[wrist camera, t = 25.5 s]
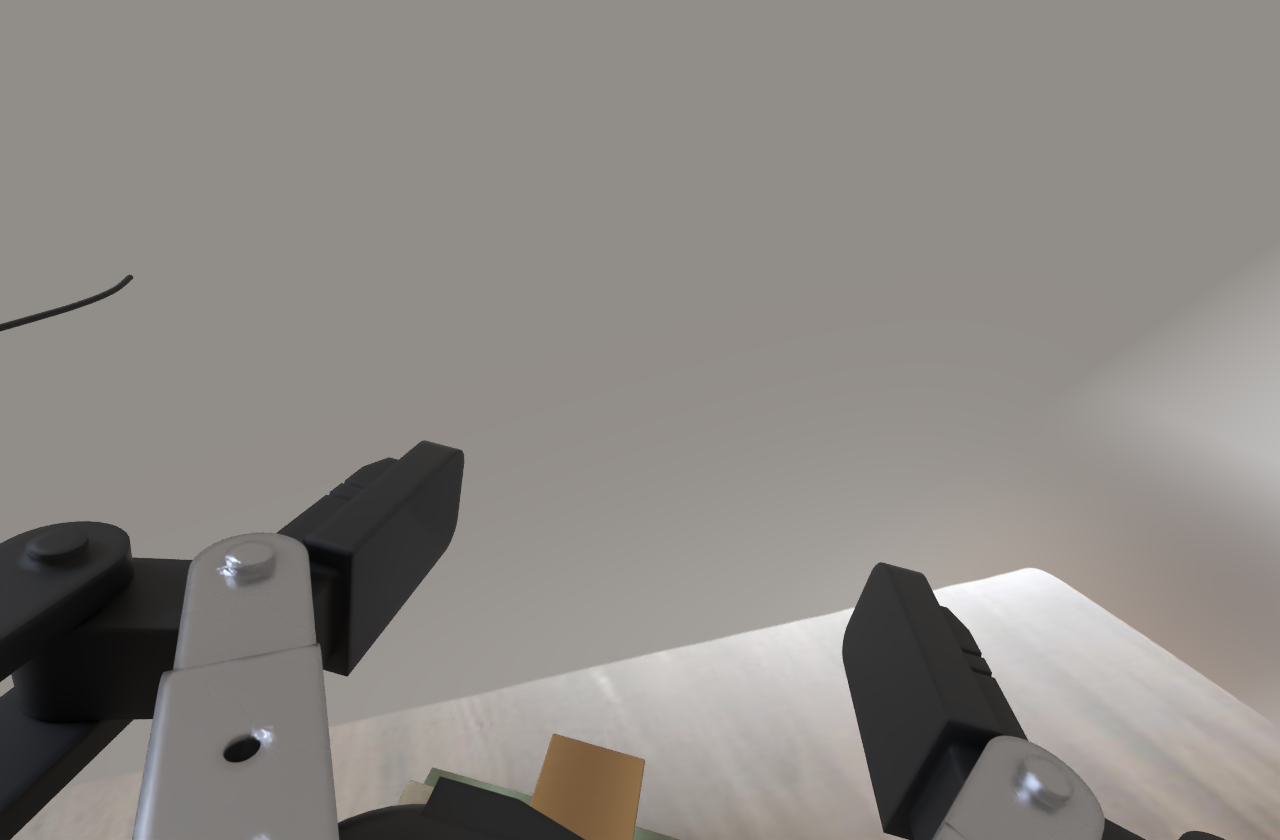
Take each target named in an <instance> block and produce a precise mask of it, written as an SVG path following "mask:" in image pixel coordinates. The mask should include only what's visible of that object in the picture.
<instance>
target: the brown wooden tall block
mask: <svg viewBox="0 0 1280 840" xmlns="http://www.w3.org/2000/svg"><path fill="white" fill-rule="evenodd" d="M644 764H645V760H644V759H641V758H637V757H634V756H630V755H627V754H623V753H620V752H616V751H613V750H609V749H606V748H602V747H599V746H595V745H592V744H588V743H585V742H581V741H578V740H574V739H571V738H567V737H564V736H561V735H557V734H553V735H552V738H551V741H550V744H549V748H548V751H547V754H546V757H545V760H544V763H543V766H542V769H541V772H540V775H539V778H538V781H537V784H536V788H535V791H534V794H533V797H532V800H531V803H530V806H531V807H533V808H534V809H536V810H538V811H539V812H541V813H542V814H544V815H546V816H547V817H549V818H551V819H552V820H554V821H556V822H557V823H559V824H560V825H562V826H564V827H565V828H567V829H569V830H570V831H572V832H574V833H575V834H577V835H578V836H580V837H582V838H583V839H585V840H633V838H634V831H635V824H636V818H637V811H638V804H639V798H640V791H641V784H642V778H643V771H644Z"/></svg>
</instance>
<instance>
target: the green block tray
mask: <svg viewBox="0 0 1280 840" xmlns="http://www.w3.org/2000/svg"><path fill="white" fill-rule="evenodd" d="M440 776H442V777H445V778H448V779H452V780H455V781H459V782H462V783H465V784H469V785H472V786H476V787H479V788H483V789H486V790H489V791H493V792H496V793H500V794H503V795H506V796H510V797H513V798H517V799H520V800H521V801H523V802H524V803H526V804H528V805H529V806H530V803H531V800H532V796H528V795H525V794H522V793H518V792H515V791H511V790H508V789H504V788H501V787H498V786H494V785H491V784H487V783H484V782H480V781H477V780H474V779H470V778H467V777H463V776H460V775H456V774H453V773H450V772H446V771H443V770H439V769H436V768H432V769H431V771H430V773H429V775H428V777H427V779H426V781H425V783H424V784H421V783H418V782H414V781H409V783H408V785H407V787H406V789H405V791H404V792H403V794H402V796H401V798H400V800H399V802H398V804H397V805H406V804H426V803H427V801H428V799H429V797H430V795H431V793H432V791H433V789H434V787H435V785H436V783H437V781H438V779H439V777H440ZM397 805H396V806H397ZM633 840H679V839H676V838H672V837H669V836H665V835H662V834H659V833H655V832H652V831H648V830H645V829H641V828H638V827H635V831H634V838H633Z"/></svg>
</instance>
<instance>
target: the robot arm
mask: <svg viewBox="0 0 1280 840" xmlns="http://www.w3.org/2000/svg"><path fill="white" fill-rule="evenodd" d="M132 279H133V276H132V275H128V276H126V277H125V278H124V279H123V280H122V281H121V282H120V283H119V284H117V285H116V286H115V287H113V288H111V289H109V290H107V291H105V292H103V293H100V294H98V295H96V296H93V297H90V298H87V299H84V300H81V301H79V302H76V303H73V304H70V305H67V306H63V307H60V308H56V309H53V310H49V311H46V312H42V313H38V314H35V315H31V316H28V317H24V318H21V319H17V320H14V321H10V322H7V323H3V324H0V331H3V330H7V329H10V328H13V327H17V326H21V325H24V324H27V323H31V322H34V321H38V320H41V319H45V318H48V317H51V316H55V315H58V314H62V313H65V312H68V311H71V310H74V309H77V308H80V307H82V306H85V305H88V304H91V303H93V302H96V301H99V300H101V299H104V298H106V297H108V296H110V295H112V294H114V293H115V292H117V291H119V290H120V289H122V288H123V287H124V286H125V285H127V284H128V283H129V282H130V280H132ZM463 468H464V454H463V451H462V450H459V449H455V448H451V447H448V446H444V445H440V444H436V443H433V442H429V441H421V442H420V443H419V444H417V445H416V446H415V447H414V448H413V449H411V450H410V451H409V452H408V453H406V454H405V455H404V456H403V457H402V458H401V459H399V460H397V459H393V458H386V459H383V460H381V461H378V462H375V463H372V464H369V465H366V466H364V467H362V468H361V469H359V470H358V471H357V472H355V473H354V474H353V475H351V476H350V477H349V478H348V479H346V480H345V483H344V484H343V483H341V484H340V485H338V487H336V488H334V489H333V490H332V491H331V492H330V494H329V496H328V495H325V496H324V497H323V498H321V499H320V500H319V501H318V502H316V503H315V504H314V505H312V506H311V507H310V508H308V509H307V510H306V511H304V512H303V513H302V514H301V515H299V516H298V517H297V518H295V519H294V520H293V521H291V522H290V523H289V524H288V525H286V526H285V527H284V528H282V529H281V530H280V531H278V532H277V533H276V534H274V533H250V534H243V535H238V536H234V537H230V538H227V539H225V540H222V541H219V542H217V543H214V544H212V545H211V546H209V547H207V548H206V549H204V550H203V551H201V552H200V553H199V554H198V555H197V556H196V557H195V558H194V559H193V560H176V559H153V558H132V555H131V547H130V539H129V536H128V535H127V533H126V532H125V531H124V530H122V529H121V528H119V527H117V526H114V525H110V524H107V523H101V522H89V521H86V522H85V521H84V522H68V523H60V524H53V525H49V526H44V527H40V528H37V529H34V530H30V531H27V532H25V533H22V534H19V535H17V536H15V537H13V538H10V539H8V540H6V541H4V542H3V543H1V544H0V682H1V681H2V680H4V679H5V678H6V677H8V676H9V675H12V679H13V683H14V688H12V689H11V690H9V691H8V692H7V693H5V694H4V695H3V696H1V697H0V840H10V839H11V838H12V837H13V836H14V835H15V834H17V833H18V832H19V831H20V830H21V829H22V828H23V827H24V826H25V825H26V824H27V823H28V822H29V821H30V820H31V819H32V818H33V817H34V816H35V815H36V814H37V813H38V812H39V811H40V810H41V809H42V808H43V807H44V806H45V805H46V804H47V803H48V802H49V801H50V800H51V799H52V798H53V797H55V796H56V795H57V794H58V793H59V792H60V791H61V790H62V789H63V788H64V787H65V786H66V785H67V784H68V783H69V782H70V781H71V780H72V779H73V778H74V777H75V776H76V775H77V774H78V773H79V772H80V771H81V770H82V769H83V768H84V767H85V766H86V765H87V764H88V763H89V762H90V761H91V760H92V759H94V757H96V756H97V754H99V752H101V751H102V750H103V749H104V748H105V747H106V746H107V745H108V744H109V743H110V742H111V741H112V740H113V739H114V738H115V737H116V736H117V735H118V734H119V733H120V732H121V731H122V730H123V729H124V728H125V727H126V726H127V725H128V724H129V723H130V722H132V721H133V720H134V719H153V722H152V728H151V734H150V740H149V746H148V751H147V756H146V763H145V768H144V774H143V779H142V785H141V791H140V797H139V802H138V808H137V814H136V820H135V825H134V831H133V837H132V840H585V839H583V838H582V837H580V836H578V835H577V834H575V833H574V832H572V831H570V830H569V829H567V828H565V827H564V826H562V825H560V824H559V823H557V822H556V821H554V820H552V819H551V818H549V817H547V816H546V815H544V814H542V813H541V812H539V811H538V810H536V809H534V808H533V807H531V806H529V805H528V804H526V803H524V802H523V801H521V800H520V799H517V798H513V797H510V796H506V795H503V794H500V793H496V792H493V791H489V790H486V789H483V788H479V787H476V786H472V785H469V784H465V783H462V782H459V781H455V780H452V779H448V778H445V777H442V776H440V777H439V779H438V781H437V783H436V785H435V787H434V789H433V791H432V793H431V795H430V797H429V799H428V801H427V803H426V804H406V805H397V806H390V807H385V808H381V809H376V810H372V811H368V812H365V813H362V814H360V815H357V816H354V817H351V818H348V819H345V820H343V821H341V822H339V823H338V821H337V811H336V801H335V790H334V780H333V770H332V759H331V749H330V739H329V728H328V718H327V709H326V697H325V689H324V688H325V687H324V677H323V670H326V671H330V672H334V673H337V674H340V675H344V676H348V675H349V674H350V672H351V671H352V670H353V669H354V667H355V666H356V665H357V664H358V662H359V661H360V660H361V658H362V657H363V656H364V655H365V653H366V652H367V651H368V650H369V648H370V647H371V645H372V644H373V643H374V642H375V641H376V639H377V638H378V637H379V635H380V634H381V633H382V632H383V630H384V629H385V627H386V626H387V625H388V624H389V622H390V621H391V620H392V619H393V617H394V616H395V615H396V614H397V612H398V611H399V610H400V609H401V607H402V606H403V605H404V603H405V602H406V601H407V600H408V598H409V597H410V596H411V594H412V593H413V592H414V590H415V589H416V588H417V586H418V585H419V584H420V583H421V582H422V580H423V579H424V578H425V576H426V575H427V574H428V573H429V571H430V570H431V569H432V567H433V566H434V565H435V564H436V562H437V561H438V559H439V558H440V557H441V556H442V554H443V553H444V552H445V551H446V549H447V547H448V546H449V544H450V542H451V539H452V537H453V534H454V532H455V528H456V524H457V519H458V511H459V502H460V494H461V484H462V477H463ZM981 654H982V653H981V651H980V650H979V648H978V646H977V644H976V642H975V640H974V638H973V636H972V635H971V633H970V631H969V630H968V629H967V628H966V627H965V626H964V625H963V623H962V622H961V621H960V620H959V619H958V618H957V617H956V616H955V615H954V614H953V613H952V612H951V611H950V610H949V609H948V608H947V607H943V606H940V605H939V603H938V601H937V599H936V597H935V595H934V593H933V591H932V589H931V587H930V585H929V583H928V581H927V579H926V577H925V576H924V575H923V574H922V573H920V572H916V571H912V570H908V569H904V568H901V567H897V566H893V565H890V564H886V563H878V564H877V565H876V566H875V567H874V568H873V570H872V572H871V574H870V576H869V578H868V580H867V583H866V585H865V587H864V589H863V592H862V594H861V596H860V598H859V600H858V603H857V605H856V607H855V609H854V612H853V614H852V616H851V618H850V620H849V623H848V625H847V628H846V631H845V634H844V639H843V648H842V656H843V663H844V667H845V671H846V676H847V680H848V684H849V688H850V692H851V697H852V701H853V705H854V709H855V714H856V718H857V722H858V726H859V731H860V735H861V739H862V743H863V747H864V752H865V756H866V760H867V764H868V769H869V773H870V777H871V781H872V786H873V790H874V794H875V798H876V802H877V807H878V811H879V815H880V819H881V824H882V828H883V832H884V833H887V834H891V835H894V836H898V837H901V838H905V839H908V840H1145V839H1143V838H1142V837H1140V836H1138V835H1136V834H1134V833H1132V832H1130V831H1128V830H1126V829H1124V828H1122V827H1121V826H1119V825H1117V824H1115V823H1113V822H1111V821H1109V820H1107V819H1106V818H1104V814H1103V811H1102V808H1101V806H1100V804H1099V802H1098V800H1097V798H1096V797H1095V795H1094V794H1093V792H1092V791H1091V789H1090V788H1089V787H1088V786H1087V784H1086V783H1085V782H1084V781H1083V780H1082V779H1081V778H1080V777H1079V776H1078V775H1077V774H1076V773H1075V772H1074V771H1073V770H1072V769H1071V768H1070V767H1069V766H1068V765H1067V764H1065V763H1064V762H1063V761H1062V760H1060V759H1059V758H1057V757H1056V756H1055V755H1053V754H1052V753H1050V752H1049V751H1047V750H1045V749H1044V748H1042V747H1040V746H1038V745H1036V744H1034V743H1032V742H1029V741H1028V739H1027V737H1026V735H1025V734H1024V732H1023V730H1022V728H1021V726H1020V724H1019V722H1018V720H1017V719H1016V717H1015V715H1014V713H1013V711H1012V709H1011V707H1010V706H1009V704H1008V702H1007V700H1006V698H1005V696H1004V694H1003V692H1002V691H1001V689H1000V687H999V685H998V683H997V681H996V679H995V678H993V677H991V675H992V672H991V670H990V668H989V666H988V664H987V663H986V661H985V659H984V658H981ZM1178 840H1225V839H1223V838H1220V837H1218V836H1215V835H1213V834H1209V833H1205V832H1200V831H1190V832H1186V833H1185V834H1183V835H1182V836H1181V837H1180V838H1179V839H1178Z"/></svg>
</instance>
